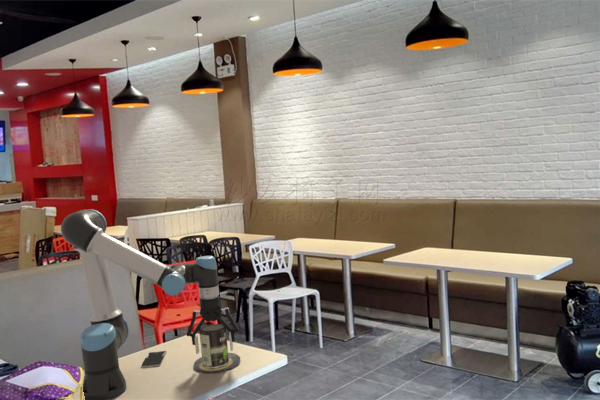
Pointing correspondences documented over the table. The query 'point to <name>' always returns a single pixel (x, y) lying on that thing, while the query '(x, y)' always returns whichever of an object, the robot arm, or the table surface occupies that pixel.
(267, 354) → the table surface
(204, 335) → the coffee can
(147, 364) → the smartphone
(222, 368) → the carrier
